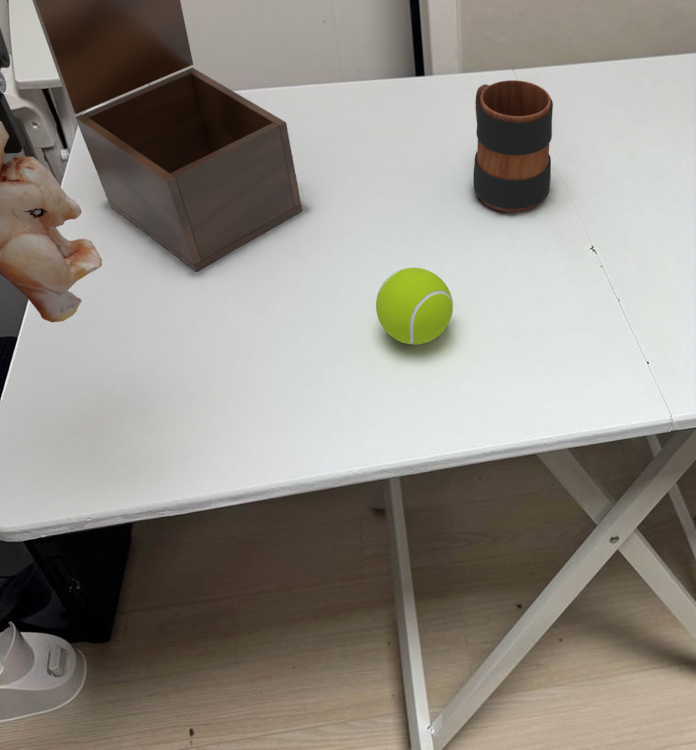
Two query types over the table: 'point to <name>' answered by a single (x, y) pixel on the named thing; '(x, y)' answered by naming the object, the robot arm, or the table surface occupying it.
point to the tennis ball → (414, 306)
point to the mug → (513, 145)
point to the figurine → (40, 237)
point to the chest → (193, 165)
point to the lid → (112, 45)
